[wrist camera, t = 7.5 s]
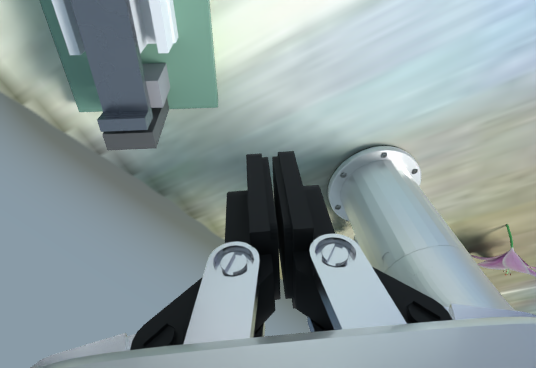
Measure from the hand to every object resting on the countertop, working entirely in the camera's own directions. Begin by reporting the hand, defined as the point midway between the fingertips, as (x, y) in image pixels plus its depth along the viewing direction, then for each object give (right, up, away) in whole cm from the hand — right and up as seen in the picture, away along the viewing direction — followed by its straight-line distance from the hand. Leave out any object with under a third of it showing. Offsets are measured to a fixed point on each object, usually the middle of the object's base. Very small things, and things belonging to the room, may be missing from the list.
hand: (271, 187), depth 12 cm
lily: (+37, -10, +45) cm, 59 cm away
